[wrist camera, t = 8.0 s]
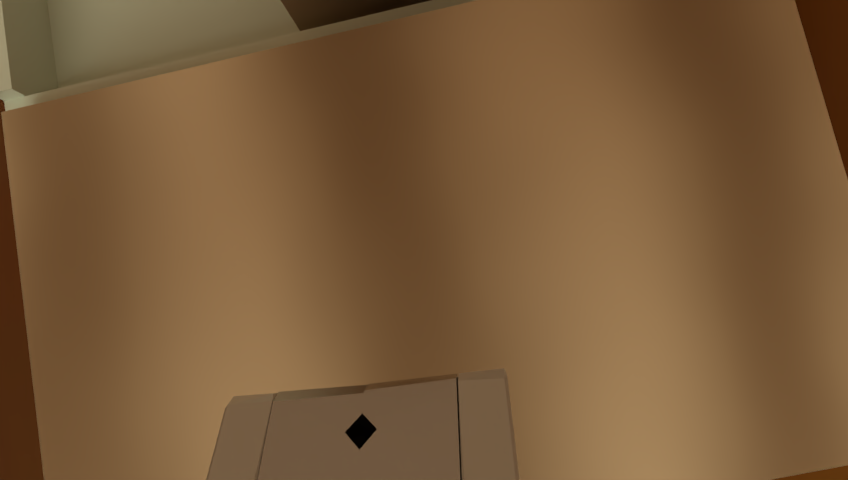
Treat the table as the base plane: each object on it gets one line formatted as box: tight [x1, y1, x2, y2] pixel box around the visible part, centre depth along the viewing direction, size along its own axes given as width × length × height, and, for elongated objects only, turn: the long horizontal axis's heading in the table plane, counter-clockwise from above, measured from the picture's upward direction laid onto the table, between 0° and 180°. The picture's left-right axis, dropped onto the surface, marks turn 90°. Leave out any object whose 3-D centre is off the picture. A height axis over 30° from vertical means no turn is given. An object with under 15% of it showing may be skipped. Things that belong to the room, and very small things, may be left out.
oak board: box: [1, 0, 848, 480], centre depth 17 cm, size 16×10×3 cm, turn 101°
